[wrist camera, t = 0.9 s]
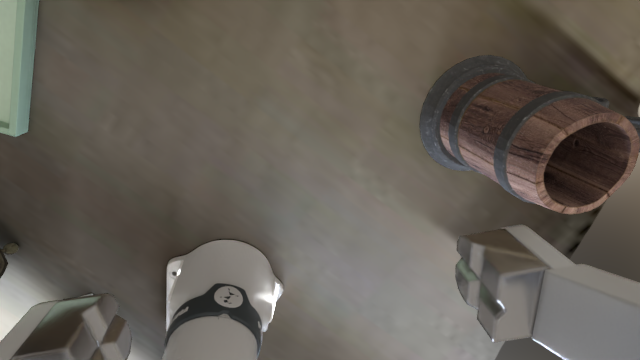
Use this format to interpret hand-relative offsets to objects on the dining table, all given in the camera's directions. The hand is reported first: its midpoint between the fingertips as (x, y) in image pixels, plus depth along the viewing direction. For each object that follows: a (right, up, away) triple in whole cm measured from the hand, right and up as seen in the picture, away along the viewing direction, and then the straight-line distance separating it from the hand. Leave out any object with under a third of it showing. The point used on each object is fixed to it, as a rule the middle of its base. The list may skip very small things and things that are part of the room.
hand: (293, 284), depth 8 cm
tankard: (+26, +12, +42) cm, 51 cm away
